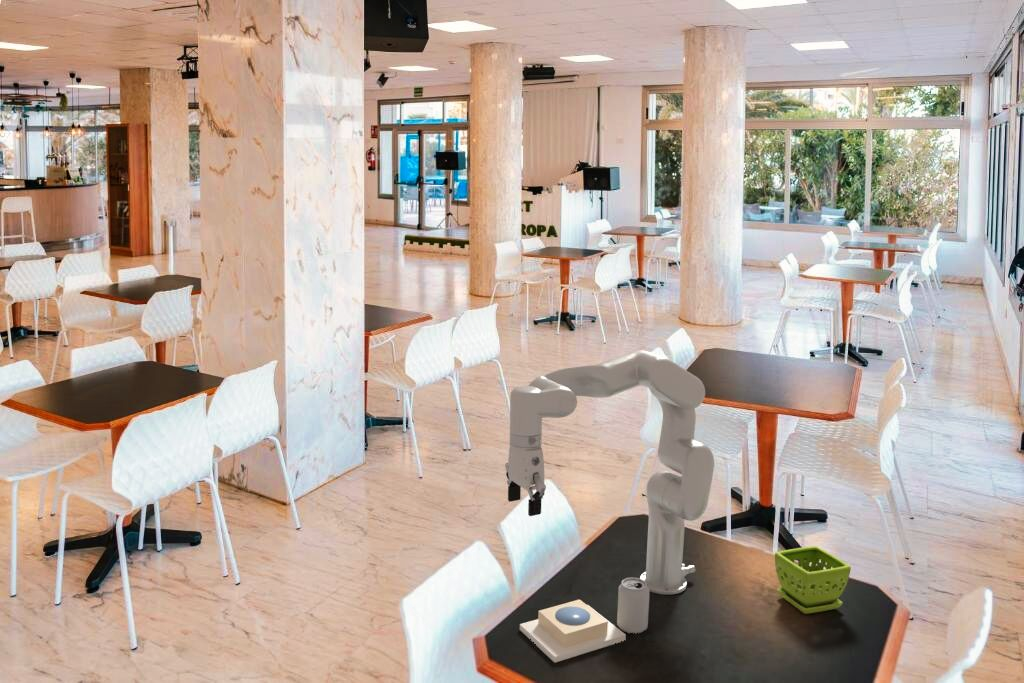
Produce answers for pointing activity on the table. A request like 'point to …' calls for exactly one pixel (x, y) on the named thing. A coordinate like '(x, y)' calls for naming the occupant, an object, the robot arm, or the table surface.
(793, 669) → the table surface
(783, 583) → the flower pot
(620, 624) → the can
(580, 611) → the base
